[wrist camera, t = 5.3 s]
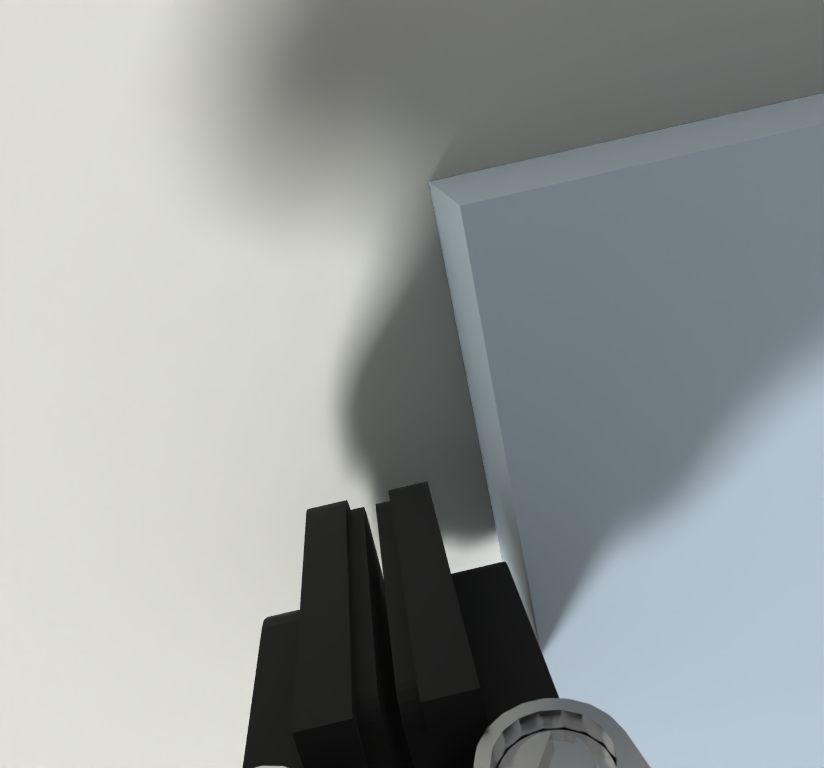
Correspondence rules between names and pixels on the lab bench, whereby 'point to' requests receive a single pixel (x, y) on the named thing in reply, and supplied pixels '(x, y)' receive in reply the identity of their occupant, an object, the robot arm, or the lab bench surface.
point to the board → (660, 422)
